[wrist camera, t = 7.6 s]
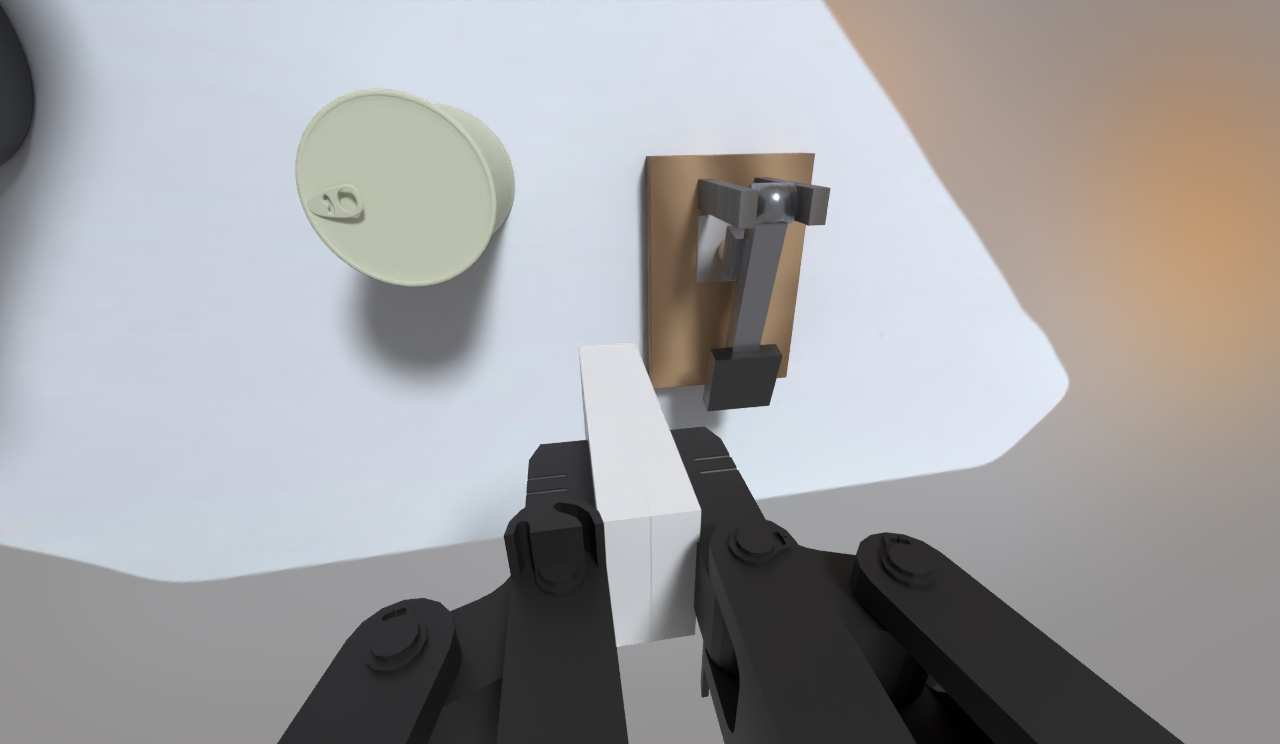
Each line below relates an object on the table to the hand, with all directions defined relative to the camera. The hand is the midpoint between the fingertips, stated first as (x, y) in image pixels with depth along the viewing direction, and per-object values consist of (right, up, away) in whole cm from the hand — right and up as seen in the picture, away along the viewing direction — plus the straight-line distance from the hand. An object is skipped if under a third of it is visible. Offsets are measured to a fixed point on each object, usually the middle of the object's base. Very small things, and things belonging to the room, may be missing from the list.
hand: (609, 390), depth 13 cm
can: (-13, +14, +21) cm, 28 cm away
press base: (+7, +9, +27) cm, 29 cm away
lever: (+8, +7, +23) cm, 25 cm away
